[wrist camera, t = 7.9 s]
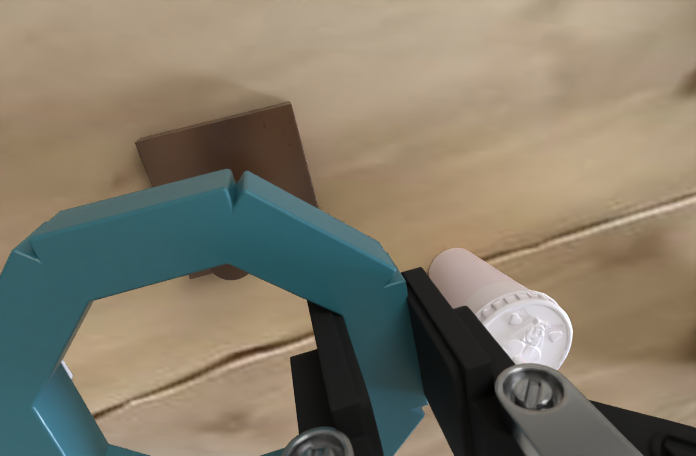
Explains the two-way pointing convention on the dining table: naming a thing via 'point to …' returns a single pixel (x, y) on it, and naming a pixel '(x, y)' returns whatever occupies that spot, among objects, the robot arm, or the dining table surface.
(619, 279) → the dining table surface
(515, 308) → the smoothie
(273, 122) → the brown peg stand
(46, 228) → the ring
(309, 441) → the robot arm
